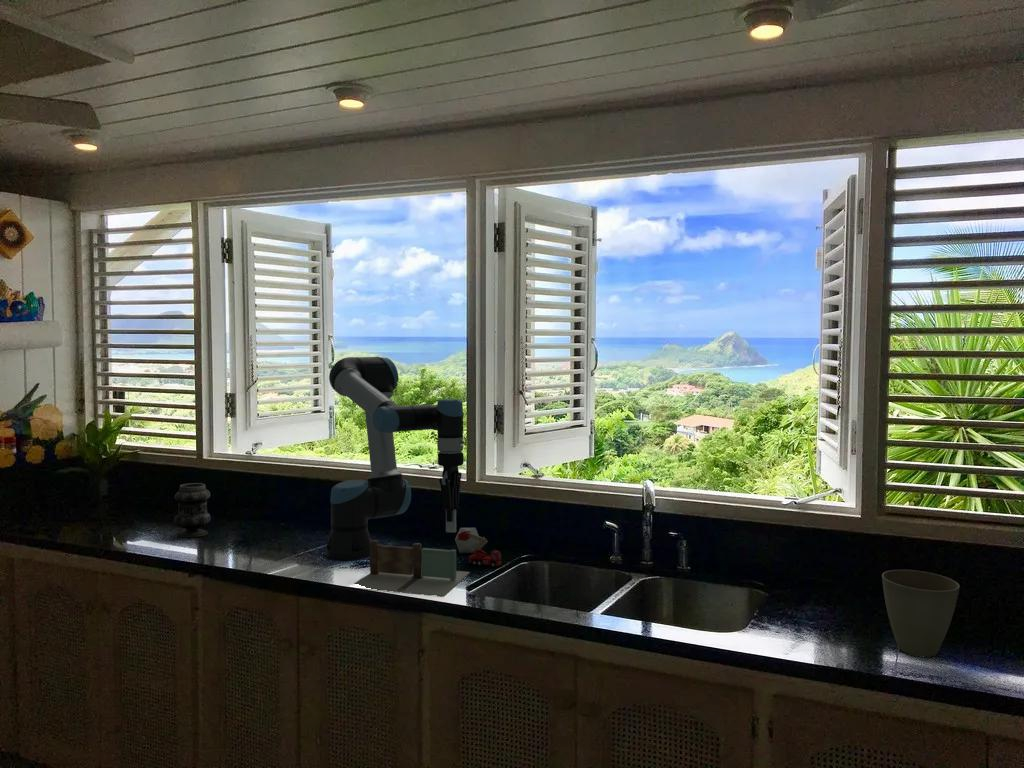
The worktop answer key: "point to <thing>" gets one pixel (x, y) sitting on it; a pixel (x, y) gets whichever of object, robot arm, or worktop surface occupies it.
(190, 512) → the dark grey urn vase
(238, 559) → the worktop surface
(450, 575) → the green rectangular block
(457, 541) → the die
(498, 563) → the toy fire truck
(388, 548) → the base
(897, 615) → the plant pot
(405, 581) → the card
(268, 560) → the worktop surface
